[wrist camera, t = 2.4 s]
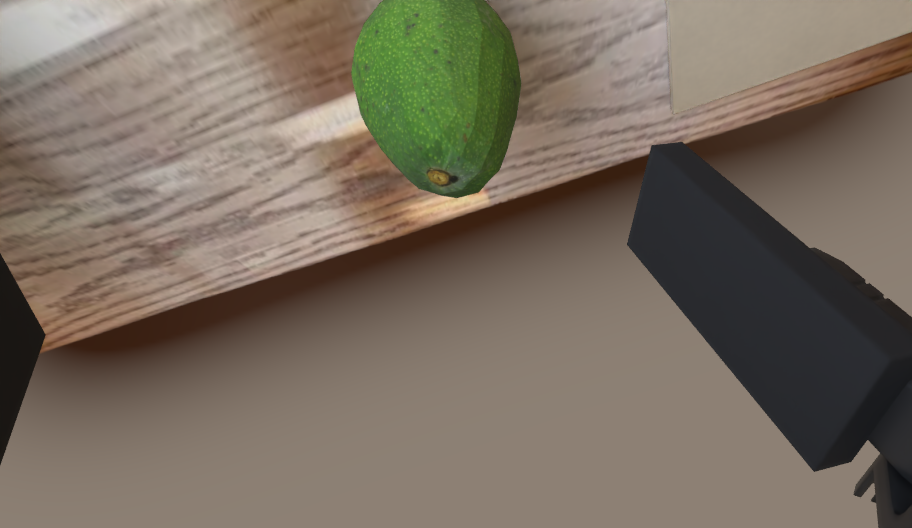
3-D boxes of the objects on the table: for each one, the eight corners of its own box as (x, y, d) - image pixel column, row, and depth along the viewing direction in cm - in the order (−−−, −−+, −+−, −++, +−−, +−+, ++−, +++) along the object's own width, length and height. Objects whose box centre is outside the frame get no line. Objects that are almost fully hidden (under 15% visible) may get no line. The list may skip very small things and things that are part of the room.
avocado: (428, -95, 27) (475, 82, 21) (525, 14, 33) (587, 181, 26) (313, 19, 31) (322, 200, 24) (417, 100, 36) (448, 266, 30)
